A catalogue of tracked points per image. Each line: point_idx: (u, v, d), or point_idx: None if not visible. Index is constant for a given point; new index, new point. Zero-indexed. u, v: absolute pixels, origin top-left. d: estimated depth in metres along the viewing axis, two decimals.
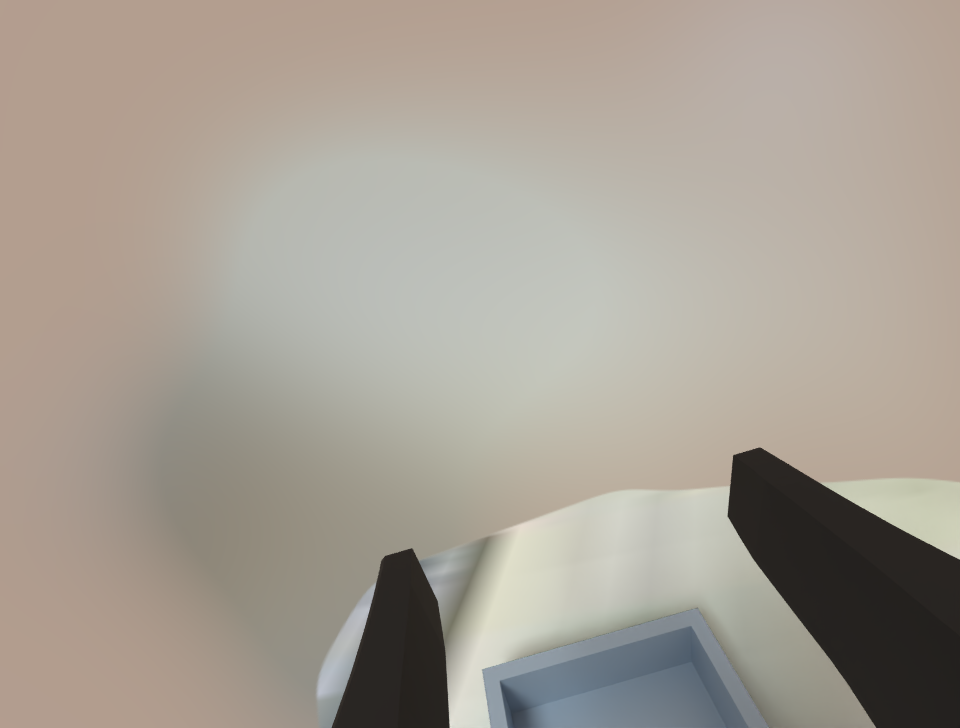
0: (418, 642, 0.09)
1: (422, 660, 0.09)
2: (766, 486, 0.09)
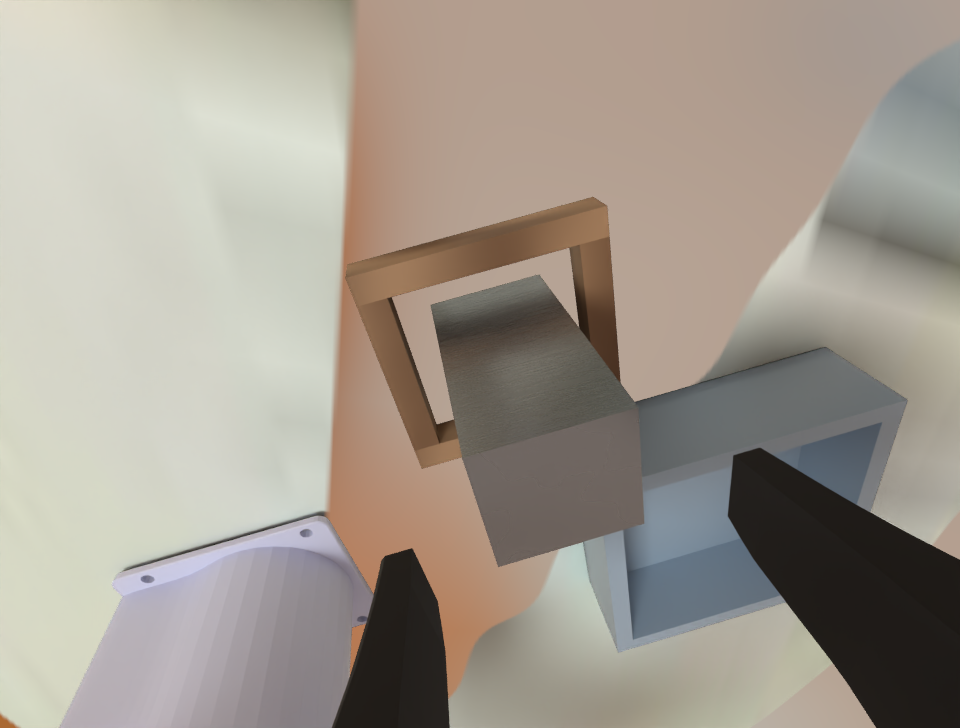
0: (418, 642, 0.09)
1: (422, 660, 0.09)
2: (766, 486, 0.09)
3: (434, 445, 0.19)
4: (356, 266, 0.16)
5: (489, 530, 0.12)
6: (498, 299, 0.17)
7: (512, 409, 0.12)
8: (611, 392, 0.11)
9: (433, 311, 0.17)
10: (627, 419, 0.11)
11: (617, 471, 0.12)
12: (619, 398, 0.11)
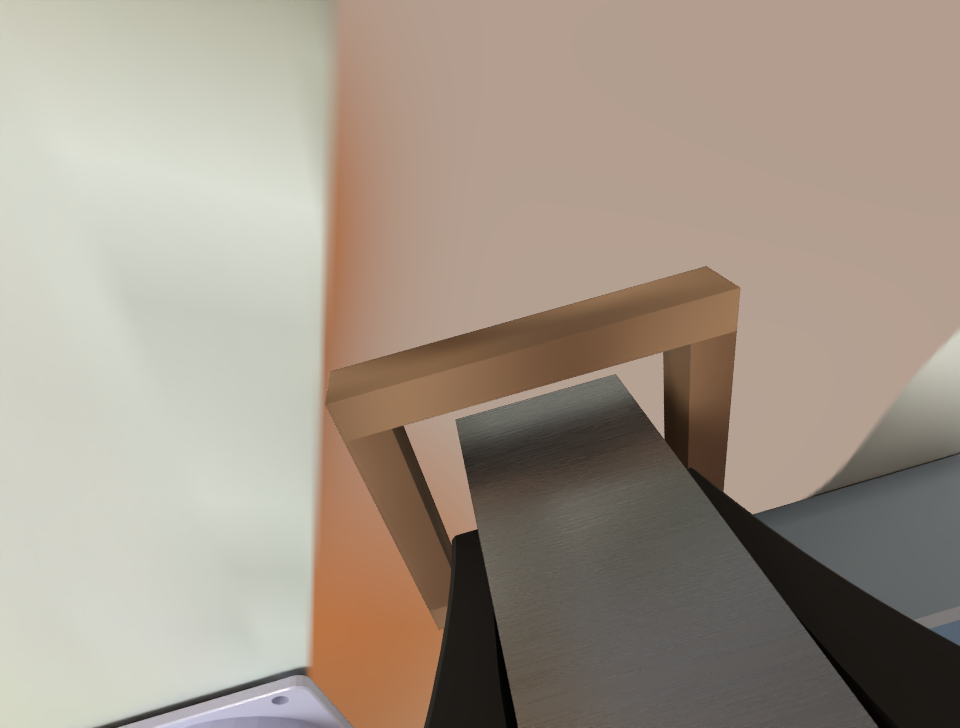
0: None
1: None
2: None
3: None
4: (343, 378, 0.10)
5: None
6: (560, 420, 0.11)
7: None
8: (838, 716, 0.06)
9: (460, 434, 0.11)
10: None
11: None
12: None
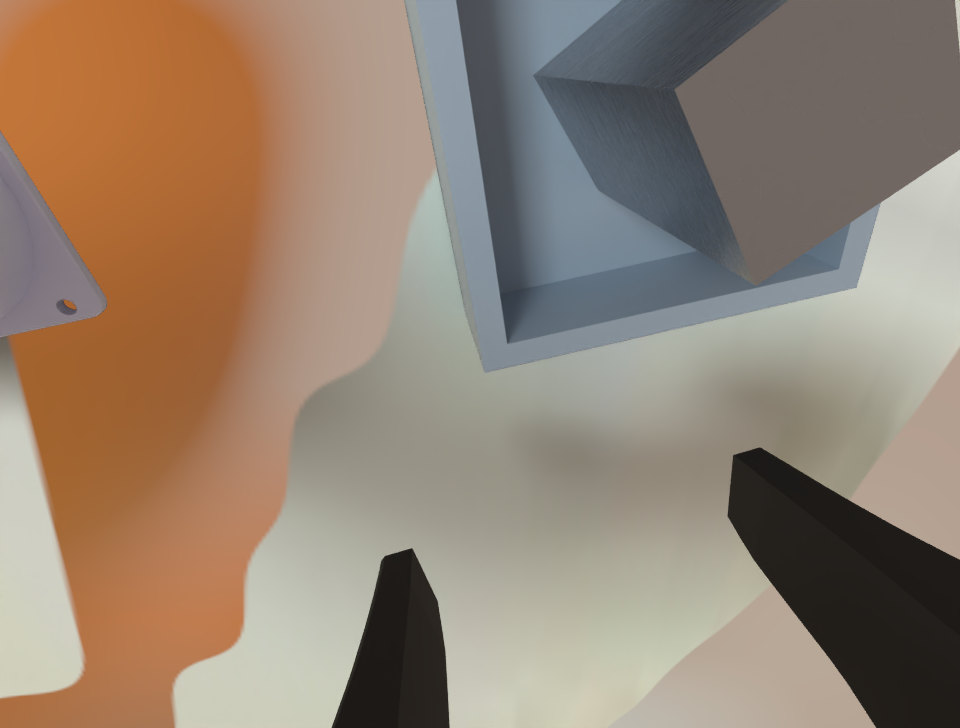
0: (418, 642, 0.09)
1: (422, 660, 0.09)
2: (766, 486, 0.09)
3: None
4: None
5: (734, 222, 0.08)
6: (616, 14, 0.13)
7: (715, 25, 0.08)
8: None
9: (540, 74, 0.13)
10: None
11: (916, 43, 0.07)
12: None
